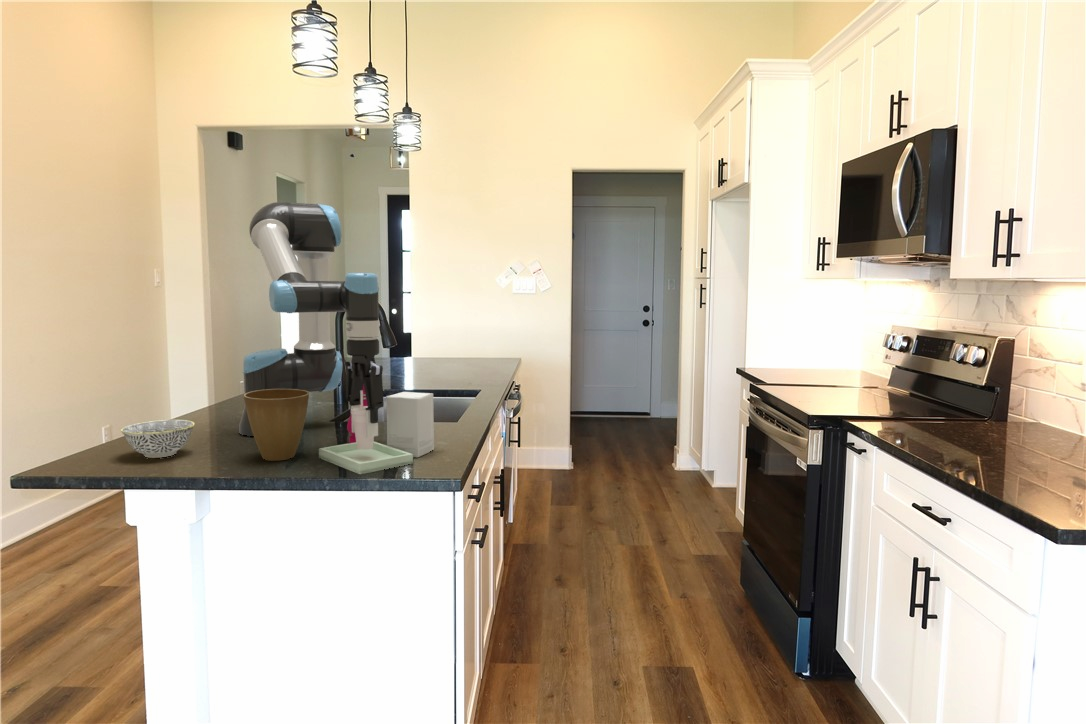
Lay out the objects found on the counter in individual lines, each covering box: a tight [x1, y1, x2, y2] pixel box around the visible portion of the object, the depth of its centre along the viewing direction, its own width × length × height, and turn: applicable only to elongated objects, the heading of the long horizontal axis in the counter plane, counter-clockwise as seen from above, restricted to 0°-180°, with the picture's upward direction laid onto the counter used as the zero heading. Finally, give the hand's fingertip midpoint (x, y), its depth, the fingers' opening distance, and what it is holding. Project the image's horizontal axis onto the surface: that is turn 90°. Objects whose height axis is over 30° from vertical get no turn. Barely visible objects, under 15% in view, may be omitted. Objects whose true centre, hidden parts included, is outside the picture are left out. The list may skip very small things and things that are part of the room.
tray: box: [318, 441, 414, 475], centre depth 173 cm, size 20×14×2 cm
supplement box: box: [385, 391, 435, 458], centre depth 181 cm, size 9×9×15 cm
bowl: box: [120, 419, 196, 458], centre depth 176 cm, size 16×16×8 cm
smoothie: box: [350, 390, 375, 450], centre depth 172 cm, size 6×6×14 cm
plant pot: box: [243, 389, 310, 462], centre depth 175 cm, size 15×15×16 cm
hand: (364, 433), depth 173 cm, fingers closed on smoothie, 6 cm apart
